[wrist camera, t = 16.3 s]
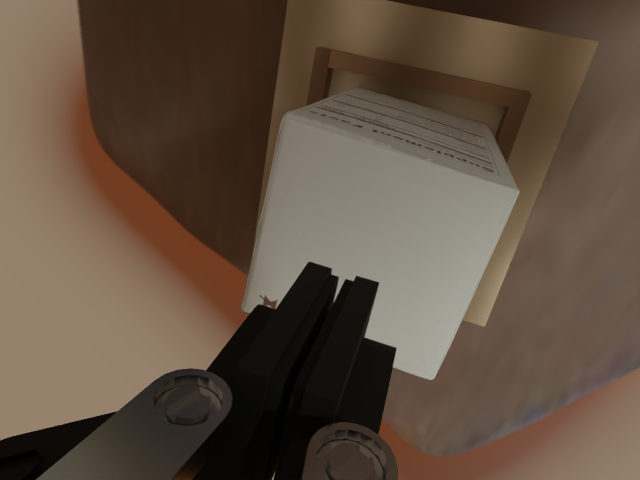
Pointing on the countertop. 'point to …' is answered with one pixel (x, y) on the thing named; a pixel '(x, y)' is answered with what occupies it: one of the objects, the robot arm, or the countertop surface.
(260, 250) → the supplement box
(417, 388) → the countertop surface
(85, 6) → the countertop surface
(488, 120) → the maple plinth
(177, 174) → the countertop surface
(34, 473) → the robot arm
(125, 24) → the countertop surface
